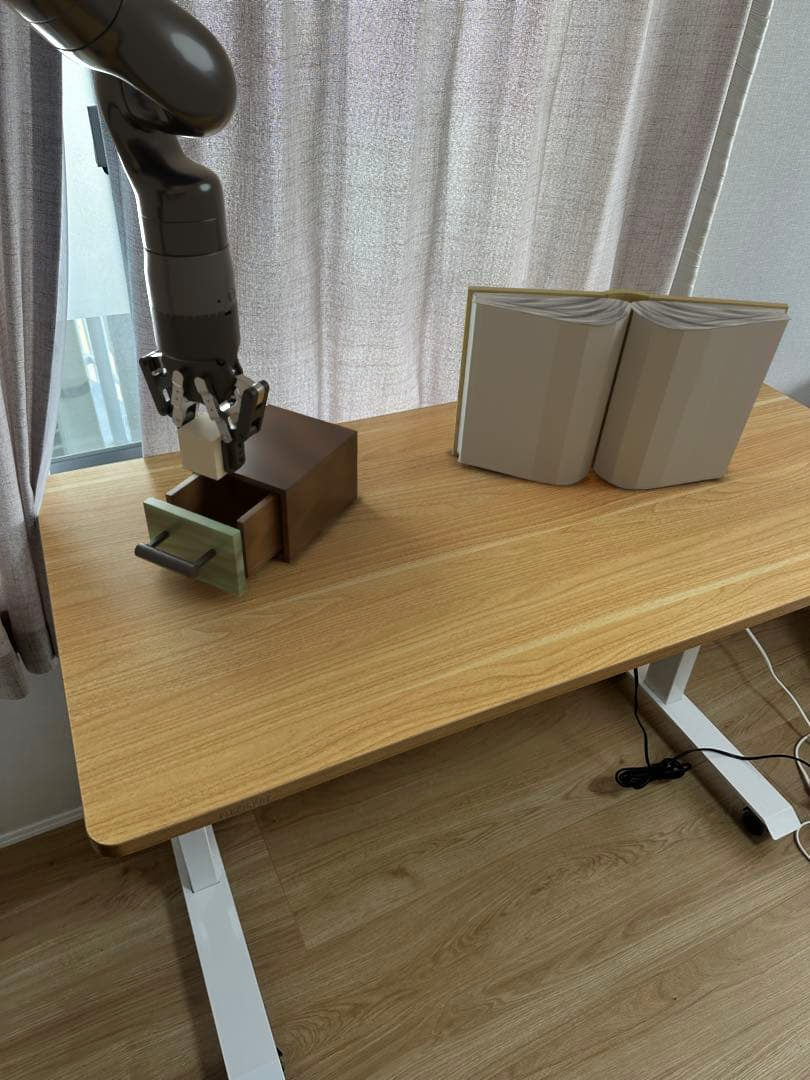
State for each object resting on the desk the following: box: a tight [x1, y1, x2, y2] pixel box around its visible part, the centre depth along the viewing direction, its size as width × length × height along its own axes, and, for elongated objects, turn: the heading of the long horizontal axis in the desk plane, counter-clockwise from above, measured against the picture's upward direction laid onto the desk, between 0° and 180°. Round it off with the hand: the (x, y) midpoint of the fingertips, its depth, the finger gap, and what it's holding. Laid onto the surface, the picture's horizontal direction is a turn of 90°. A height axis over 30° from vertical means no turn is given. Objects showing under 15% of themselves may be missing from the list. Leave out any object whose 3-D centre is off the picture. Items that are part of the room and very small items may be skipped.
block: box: [176, 411, 232, 480], centre depth 80 cm, size 4×4×4 cm
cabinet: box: [191, 403, 359, 563], centre depth 94 cm, size 15×13×10 cm
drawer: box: [133, 473, 284, 598], centre depth 86 cm, size 18×11×8 cm, turn 152°
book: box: [451, 285, 793, 491], centre depth 98 cm, size 36×8×24 cm, turn 87°
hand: (213, 461), depth 81 cm, fingers closed on block, 4 cm apart
